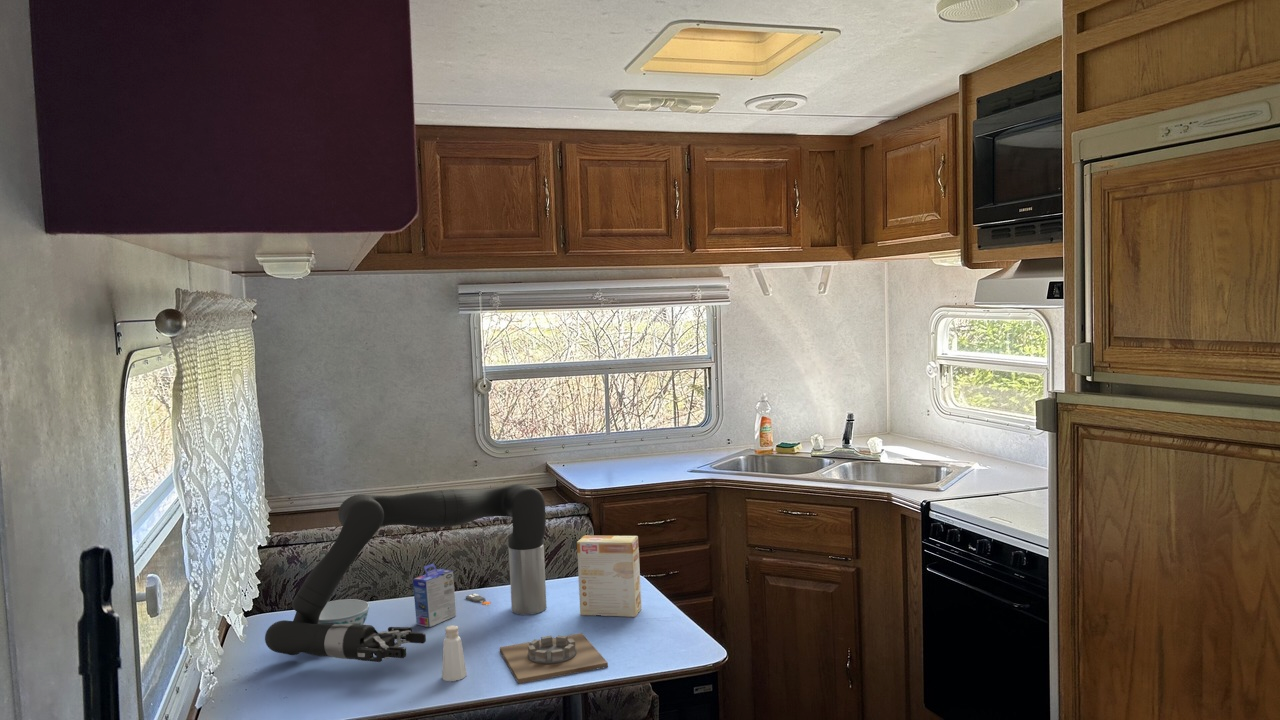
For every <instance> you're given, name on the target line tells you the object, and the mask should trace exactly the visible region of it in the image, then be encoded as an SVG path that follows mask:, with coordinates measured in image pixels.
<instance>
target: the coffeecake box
mask: <svg viewBox="0 0 1280 720" xmlns="http://www.w3.org/2000/svg"><path fill="white" fill-rule="evenodd" d="M639 549H640V547H639V536H638V535H583V536H582V537H581V538H580V539H579V540H578V541H576V552H577V554H576V556H577V571H578V591H579V592H578V594H579V611H580V612H579V613H580V614H579V615H580V616H596V615H601V616H602V617H604V616H605V617H629V618H636V617H637V615H638V614H639V613H638V612H641V610H642V609H641V608H642V590H641V588H642V587H641V586H642V585H641V573H640V572H641V571H640V550H639ZM601 616H600V617H601Z"/></svg>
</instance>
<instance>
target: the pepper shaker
mask: <svg viewBox="0 0 1280 720" xmlns="http://www.w3.org/2000/svg"><path fill="white" fill-rule="evenodd" d="M444 630H445V638H444V639H443V644H442V645H443V646H442V647H443V650H442V669H441V677H442V679H443V681H444V682H451V681H453V682H457V681H456V680H458V681H461V680H460V679H462V680H464V679H465V678H466V677H467V676H468V674H467V668H466V661H465V656H464V655H465V654H464V649H463V642H462V639H461V637H460V636H459V626H457V625H448V626H447V627H445V628H444ZM466 675H467V676H466ZM465 676H466V677H465Z"/></svg>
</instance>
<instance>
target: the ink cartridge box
mask: <svg viewBox="0 0 1280 720" xmlns="http://www.w3.org/2000/svg"><path fill="white" fill-rule="evenodd" d="M429 568H433V569H431V570H428V569H429ZM423 570H424V573H425V574H423V575H420V576H417V577H415V578H413V579H412V586H413V587H412V588H413V596H414V607H415V609H414V611H415V619H416V620H415V622H416V623H415V624H416V625H417V626H420V627H424V628H425V627H426V628H431V627H434V626H435V625H438V624H440V623H442V622H445V621H447V620H449V619H452V618H455V617H456V616H457V610H456V609H457V607H456V594H455V584H454V583H455V580H454V579H455V578H454V571H453V570H450V569H443V568H438V569H437V567H436V566H435V563H430V564H428V565H425V566H423Z"/></svg>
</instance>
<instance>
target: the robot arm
mask: <svg viewBox="0 0 1280 720" xmlns="http://www.w3.org/2000/svg"><path fill="white" fill-rule="evenodd" d="M337 517H338V520H339V523H340V524H341V525H342V527H341V529H340V532H339V534H338V536H337V538H336V540H335V542H334V543H333V545H332V546H331V548H330V549H329V550H328V552H327V553H326V554H325V555H324V556H323V557H322V559H321V560H320V561H319V562H318V563H317V564H316V565H315V567H314V568H313V569H312V570H311V571H310V573H309V574H308V575H307V577H305V580H304V581H303V583H302V584H301V586H300V588H299V590H298V591H297V593H296V595H295V596H294V598H293V600H292V603H291V607H292V609H293V610H294V611H295V614H294V617H293V620H284V619H283V620H278V621H276V622H274V623H272V624H271V625H270V626H269V627H268V628H267V630H266V632H265V635H264V641H265V644H266V646H267V648H269V650H270V651H272V652H274V653H279V654H284V655H288V656H297V655H299V654H308V655H311V656H316V657H331V658H336V659H339V660H340V659H342V660H355V661H356V660H357V661H364V662H372V663H373V662H375V663H381V662H383V659H384V660H388V659H390V658H391V659H392V658H395V659H404V658H406V657H407V648H406V647H405V646H402V644H403V645H405V644H409V643H411V644H424V643H426V642H427V639H426V637H427V636H426V633H425V632H415V631H413V627H411V626H410V627H409V626H407V627H406V626H389V627H387V630H385V631H379V632H378V631H377V629H376V628H375V627H374V626H373V625H371V624H363V625H359V624H318V621H319V617H320V614H321V612H322V610H323V609H324V607H325V605H326V604H327V602H329V601H330V599H331V597H332V595H333V593H334V592H335V590H336V588H337V586H339V583H340V582H341V580H342V579H343V577H344V575H345V574H346V573H347V571H348V569H349V568H350V566H351V565H352V564H353V562H355V560H356V558H357V557H358V555H359V554H360V553H361V552H362V550H363V549H364V547H365V546H366V545H367V544H368V543H369V541H371V539H372V538H373V537H374V535H376V534H377V532H378V531H379V529H380V528H381V527H386V526H387V527H388V526H399V525H400V526H409V527H410V526H411V527H420V528H445V527H455V526H460V525H465V524H469V523H470V522H473V521H476V520H479V519H482V518H486V517H487V518H488V517H506V518H507V517H509V518H512V532H511V534H510V535H509V536H508V538H507V542H508V543H507V544H508V547H507V548H508V561H509V562H508V564H509V581H510V583H509V584H510V601H511V612H512V613H514V614H517V615H523V616H525V615H535V614H536V615H537V614H539V613H542V612H543V611H546V610H547V590H546V589H547V588H546V587H547V586H546V570H545V568H546V566H545V547H544V546H545V545H544V537H545V534H546V528H547V527H546V501H545V498H544V496H543V494H542V491H540V490H539V489H537V488H535V487H532V486H530V485H527V484H524V483H514V484H509V485H503V486H498V487H492V488H483V489H479V488H478V489H477V488H461V489H460V488H456V489H450V488H449V489H438V490H427V491H421V492H412V493H406V494H399V495H398V494H397V495H396V494H395V495H376V494H375V495H374V494H373V495H372V494H354V495H352V496H350V497H348V498H346V499H345V500H344V501H342V503H341V504H340V506H339V508H338V511H337ZM395 640H396V641H395Z"/></svg>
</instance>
